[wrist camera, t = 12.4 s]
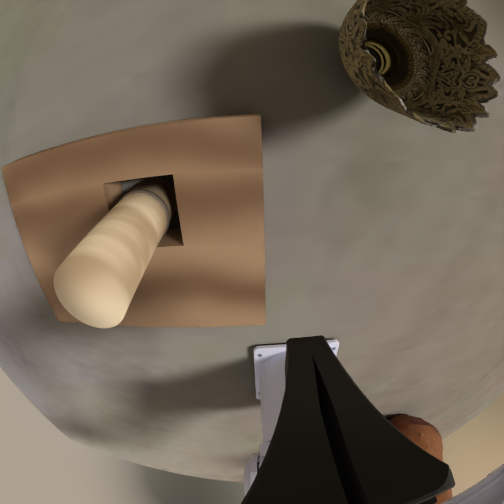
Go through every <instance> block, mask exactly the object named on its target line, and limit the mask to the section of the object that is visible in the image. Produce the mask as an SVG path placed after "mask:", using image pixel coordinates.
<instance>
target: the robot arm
mask: <svg viewBox="0 0 504 504" xmlns="http://www.w3.org/2000/svg"><path fill="white" fill-rule="evenodd" d="M338 347H339V342H338V340H336V339H333V340H326V339H325V337H324V336H312V337H302V338H290V339H289V340H287V344H281V345H266V346H256V347H255V348H254V350H253V351H254V369H255V386H256V398H257V399H259V400H260V401H261V418H262V434H263V443H262V444H259V449H260V454H253V455H252V456H251V458H250V459H249V460H248V461H247V462H246V465H245V471H244V489H245V498H244V499H243V501H242V503H241V504H434V503H436V502H437V498H436V496H437V495H439V494H441V493H443V492H445V491H447V490H449V489H451V488H453V487H454V486H455V481H454V478H453V475H452V472H451V470H450V468H449V465H447V464H446V463H444V462H442V461H441V460H439V459H437V458H436V457H434V456H433V455H431V454H429V453H428V452H426V451H425V450H423V449H422V448H421V447H419V446H418V445H416V444H415V443H414V442H413V441H411V440H410V439H409V438H408V437H406V436H405V435H404V434H403V433H402V432H400V431H399V430H398V429H397V428H396V427H394V426H393V425H392V424H391V423H390V422H389V421H388V420H387V419H386V418H385V417H384V416H383V415H382V414H381V413H380V412H379V411H378V410H377V409H376V408H375V407H374V405H373V404H372V403H371V402H370V401H369V400H368V399H367V397H366V396H365V395H364V394H363V393H362V391H361V390H360V389H359V388H358V386H357V385H356V384H355V383H354V381H353V380H352V378H351V377H350V376H349V374H348V373H347V372H346V370H345V369H344V367H343V366H342V365H341V363H340V362H339V360H338V359H337V357H336V354H337V351H338ZM441 504H504V464H503V465H501V466H500V467H498V468H497V469H495V470H494V471H493V472H491V473H490V474H488V475H487V477H486V478H484V479H483V480H481V481H480V482H478V483H477V484H475V485H473V486H472V487H470V488H468V489H467V490H465V491H463V492H462V493H460V494H458V495H456V496H454V497H453V498H451V499H449V500H447V501H445V502H443V503H441Z"/></svg>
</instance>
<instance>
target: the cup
mask: <svg viewBox="0 0 504 504" xmlns="http://www.w3.org/2000/svg"><path fill="white" fill-rule="evenodd" d="M467 2H468V1H467V0H357V2H356V3H355V4H354V5H353V7H352V8H351V9H350V11H349V12H348V14H347V15H346V17H345V19H344V21H343V23H342V26H341V29H340V34H339V52H340V56H341V60H342V63H343V65H344V68H345V70H346V72H347V73H348V75H349V77H350V78H351V80H352V81H353V82H354V83H355V85H356V86H357V87H358V88H359V89H360V90H361V91H362V92H363V93H364V94H366V95H367V96H368V97H370V98H371V99H372V100H374V101H375V102H377V103H379V104H381V105H382V106H384V107H386V108H388V109H390V110H393V111H395V112H397V113H400V114H402V115H405V116H407V117H409V118H412V119H414V120H416V121H419V122H421V123H422V124H423V123H424V124H426V125H428V126H431V127H432V126H434V127H437V128H440V129H442V130H445V131H448V132H451V133H456V130H460V131H467V132H473V131H474V130H475V129H476V124H475V123H476V119H475V117H481V118H483V117H489V116H490V114H489V112H488V111H487V109H486V107H484V106H483V105H481V104H480V103H487V102H488V101H489V100H491V99H494V98H496V97H497V96H498V92H497V90H496V89H494V88H493V85H495V84H496V83H497V82H498V81H499V80H500V75H499V74H498V72H497V71H496V70H495V69H494V68H493V67H491V66H490V65H489V64H486V61H488V60H489V59H492V58H496V57H497V56H498V55H497V53H496V51H495V50H494V49H493V48H492V47H491V46H489V45H485V44H486V43H485V36H486V34H487V29H488V27H487V22H486V21H485V20H484V19H483V18H482V17H481V16H480V15H479V14H478V13H476V12H475V11H474V10H472V9H471V8H469V7H468V6H466V5H467ZM484 43H485V44H484ZM367 48H370V49H373V50H374V51H376V52H377V53H378V55H379V57H380V60H381V64H380V67H379V68H378V69H377V70H376V68H375V66H376V59H375V58H374V57H373V56H372V55H371V54H370V53H369V51H368V49H367ZM491 85H492V86H491Z"/></svg>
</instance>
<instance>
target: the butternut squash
mask: <svg viewBox="0 0 504 504" xmlns="http://www.w3.org/2000/svg"><path fill="white" fill-rule="evenodd" d="M388 421H389V422H390V423H391V424H392V425H393V426H394V427H396V428H397V429H398V430H399V431H400V432H402V433H403V434H404V435H405V436H406V437H408V438H409V439H410V440H411V441H413V442H414V443H415V444H416V445H418V446H419V447H421V448H422V449H423V450H425V451H426V452H428V453H429V454H431V455H433V456H434V457H436V458H437V459H439V460H441V461H442V462H443V457H442V452H443V446H442V439H441V435H440V433H439V431H438V430H437V428H435V427H434V426H433V425H431V424H430V423H428V422H426V421H425V420H423V419H421V418H418V417H413V416H408V415H404V414H402V415H395V416H393V417H392V418H390V419H389V420H388ZM436 498H437V502H436V503H434V504H441V503H443V502H445V501H447V500H449V499H451V498H452V490H451V489H449V490H447V491H445V492H443V493H441V494H439V495H437V496H436Z"/></svg>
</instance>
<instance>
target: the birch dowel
mask: <svg viewBox="0 0 504 504" xmlns="http://www.w3.org/2000/svg"><path fill="white" fill-rule="evenodd" d="M176 209H177V200H176V193H175V190H174V188H173V187H172V186H171V185H170V184H169V183H168V182H166V181H165V180H162V179H159V178H148V179H145V180H143V181H141V182H140V183H139V184H138V185H137V186H136V187H134V188H133V189H132V190H131V191H130V192H128V193H126V194H125V195H124V196H123V197H122V198H121V199H120V200H119V201H118V203H117V205H115V206H114V207H113V208H112V209H111V210H110V211H109V212H108V213H107V214H106V215H105V216H104V217H103V218H102V220H101V221H100V222H99V223H98V224H97V225H96V226H95V227H94V228H93V229H92V230H91V231H90V232H89V233H88V234H87V235H86V236H85V237H84V239H83V240H82V241H81V242H80V243H79V244H78V245H77V246H76V247H75V249H74V250H73V251H72V252H71V253H70V254H69V255H68V257H67V258H66V259H65V260H64V261H63V262H62V264H61V265H60V266H59V267H58V268H57V270H56V272H55V274H54V289H55V292H56V295H57V297H58V299H59V301H60V302H61V304H62V305H63V306H64V308H65V309H66V310H67V311H68V312H69V313H70V314H71V315H72V316H74V317H75V318H76V319H78V320H79V321H81V322H83V323H85V324H87V325H90V326H93V327H97V328H111V327H114V326H116V325H118V324H119V323H120V322H121V321H122V320H123V318H124V316H125V314H126V311H127V309H128V307H129V305H130V302H131V300H132V298H133V296H134V293H135V291H136V289H137V287H138V285H139V283H140V280H141V278H142V276H143V274H144V272H145V270H146V268H147V266H148V264H149V262H150V260H151V258H152V256H153V254H154V252H155V250H156V248H157V246H158V244H159V242H160V240H161V238H162V237H163V236H164V235H165V233H166V231H167V229H168V227H169V223H170V221H171V219H172V217H173V215H174V213H175V212H176Z"/></svg>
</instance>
